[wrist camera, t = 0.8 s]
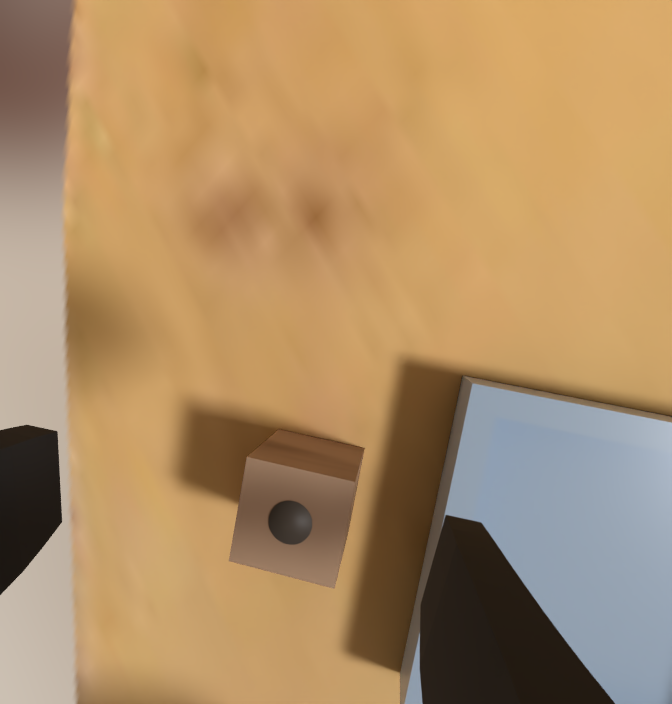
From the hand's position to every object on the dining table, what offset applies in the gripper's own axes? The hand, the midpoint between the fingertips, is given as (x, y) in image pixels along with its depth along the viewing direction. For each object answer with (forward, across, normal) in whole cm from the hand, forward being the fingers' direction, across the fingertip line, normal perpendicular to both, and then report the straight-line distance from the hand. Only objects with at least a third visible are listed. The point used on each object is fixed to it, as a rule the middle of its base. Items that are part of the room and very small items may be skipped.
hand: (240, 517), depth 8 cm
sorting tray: (+12, -14, +9) cm, 21 cm away
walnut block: (+13, 0, +8) cm, 15 cm away
